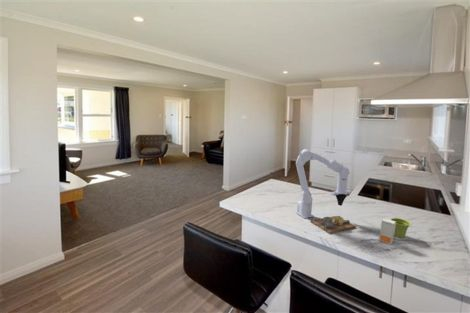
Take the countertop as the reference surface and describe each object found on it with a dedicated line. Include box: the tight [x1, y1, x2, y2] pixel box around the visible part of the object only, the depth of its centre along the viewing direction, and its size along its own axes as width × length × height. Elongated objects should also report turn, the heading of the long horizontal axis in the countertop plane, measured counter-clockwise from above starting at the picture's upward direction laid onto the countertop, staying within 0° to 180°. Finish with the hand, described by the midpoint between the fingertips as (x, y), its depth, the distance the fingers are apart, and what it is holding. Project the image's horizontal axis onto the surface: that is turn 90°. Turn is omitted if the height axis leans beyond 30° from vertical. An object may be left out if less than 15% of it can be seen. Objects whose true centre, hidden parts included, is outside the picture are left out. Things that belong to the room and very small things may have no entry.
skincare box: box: [378, 218, 396, 245], centre depth 139 cm, size 6×4×12 cm
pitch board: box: [310, 215, 357, 234], centre depth 158 cm, size 16×21×7 cm
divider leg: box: [334, 215, 344, 226], centre depth 157 cm, size 5×3×5 cm, turn 24°
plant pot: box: [390, 217, 411, 239], centre depth 147 cm, size 9×9×9 cm
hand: (339, 205), depth 167 cm, fingers closed
